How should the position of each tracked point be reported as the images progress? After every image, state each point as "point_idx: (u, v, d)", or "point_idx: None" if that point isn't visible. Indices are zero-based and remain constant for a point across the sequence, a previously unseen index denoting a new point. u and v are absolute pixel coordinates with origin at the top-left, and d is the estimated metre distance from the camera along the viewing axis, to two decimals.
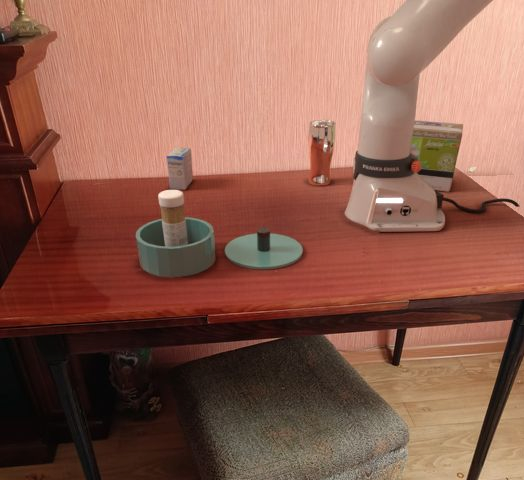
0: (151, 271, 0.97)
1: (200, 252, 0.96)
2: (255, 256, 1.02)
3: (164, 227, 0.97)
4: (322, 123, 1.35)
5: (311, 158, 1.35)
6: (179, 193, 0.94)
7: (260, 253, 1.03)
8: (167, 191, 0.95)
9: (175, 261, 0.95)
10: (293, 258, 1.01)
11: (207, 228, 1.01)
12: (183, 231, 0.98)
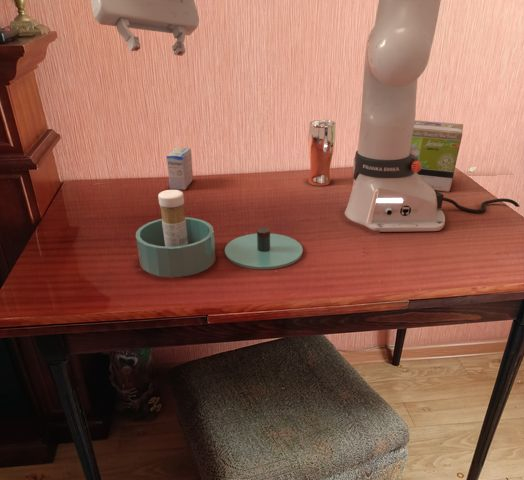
0: (151, 271, 0.97)
1: (200, 252, 0.96)
2: (255, 256, 1.02)
3: (164, 227, 0.97)
4: (322, 123, 1.35)
5: (311, 158, 1.35)
6: (179, 193, 0.94)
7: (260, 253, 1.03)
8: (167, 191, 0.95)
9: (175, 261, 0.95)
10: (293, 258, 1.01)
11: (207, 228, 1.01)
12: (183, 231, 0.98)
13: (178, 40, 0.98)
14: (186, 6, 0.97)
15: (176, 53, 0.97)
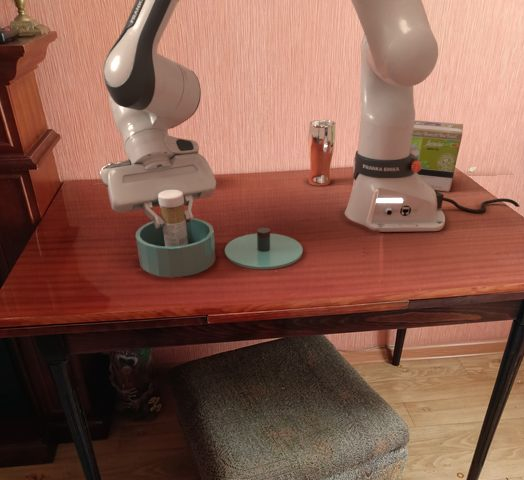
0: (151, 271, 0.97)
1: (200, 252, 0.96)
2: (255, 256, 1.02)
3: (164, 227, 0.97)
4: (322, 123, 1.35)
5: (311, 158, 1.35)
6: (179, 193, 0.94)
7: (260, 253, 1.03)
8: (167, 191, 0.95)
9: (175, 261, 0.95)
10: (293, 258, 1.01)
11: (207, 228, 1.01)
12: (183, 231, 0.98)
13: (187, 208, 0.99)
14: (201, 173, 0.99)
15: None
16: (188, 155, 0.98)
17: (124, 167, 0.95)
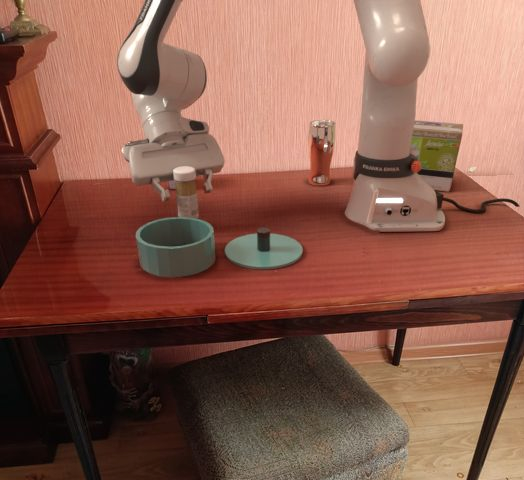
0: (151, 271, 0.97)
1: (200, 252, 0.96)
2: (255, 256, 1.02)
3: (178, 200, 1.09)
4: (322, 123, 1.35)
5: (311, 158, 1.35)
6: (192, 169, 1.07)
7: (260, 253, 1.03)
8: (181, 167, 1.08)
9: (175, 261, 0.95)
10: (293, 258, 1.01)
11: (207, 228, 1.01)
12: (194, 203, 1.10)
13: (207, 180, 1.12)
14: (211, 151, 1.12)
15: (205, 192, 1.11)
16: (200, 135, 1.11)
17: (143, 145, 1.07)
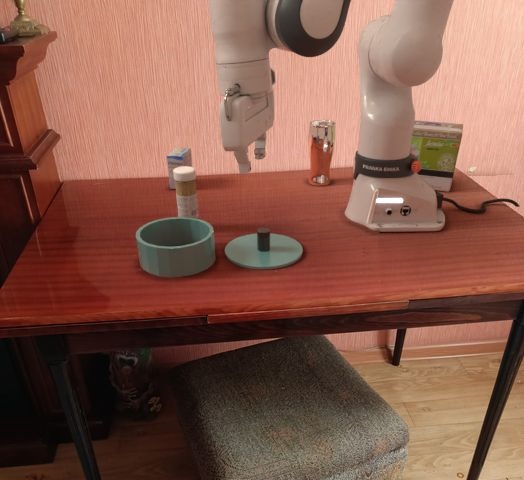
0: (151, 271, 0.97)
1: (200, 252, 0.96)
2: (255, 256, 1.02)
3: (178, 200, 1.09)
4: (322, 123, 1.35)
5: (311, 158, 1.35)
6: (192, 169, 1.07)
7: (260, 253, 1.03)
8: (181, 167, 1.08)
9: (175, 261, 0.95)
10: (293, 258, 1.01)
11: (207, 228, 1.01)
12: (194, 203, 1.10)
13: (259, 143, 0.97)
14: (269, 109, 0.96)
15: (258, 158, 0.98)
16: (270, 88, 0.92)
17: (245, 100, 0.83)
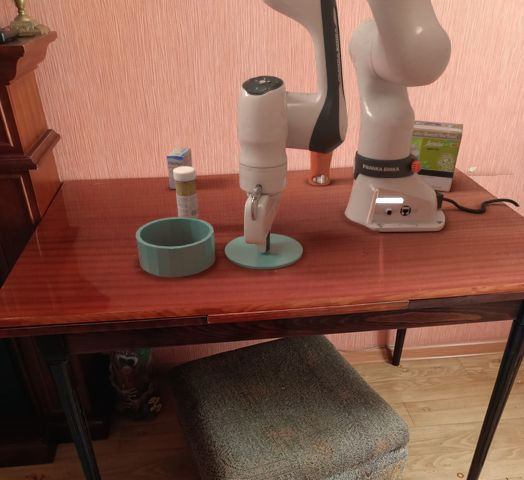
0: (151, 271, 0.97)
1: (200, 252, 0.96)
2: (255, 256, 1.02)
3: (178, 200, 1.09)
4: None
5: (311, 158, 1.35)
6: (192, 169, 1.07)
7: (260, 253, 1.03)
8: (181, 167, 1.08)
9: (175, 261, 0.95)
10: (293, 258, 1.01)
11: (207, 228, 1.01)
12: (194, 203, 1.10)
13: None
14: None
15: None
16: None
17: (266, 200, 0.92)
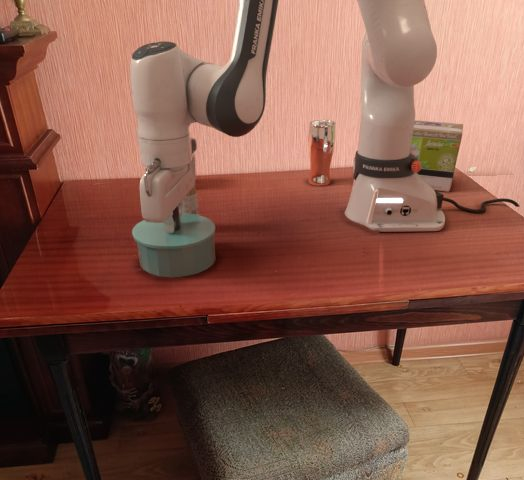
0: (151, 271, 0.97)
1: (200, 252, 0.96)
2: (162, 235, 0.96)
3: None
4: (322, 123, 1.35)
5: (311, 158, 1.35)
6: None
7: None
8: None
9: (175, 261, 0.95)
10: (202, 237, 0.95)
11: None
12: (194, 203, 1.10)
13: None
14: (191, 172, 1.00)
15: None
16: (191, 155, 0.96)
17: (165, 175, 0.87)
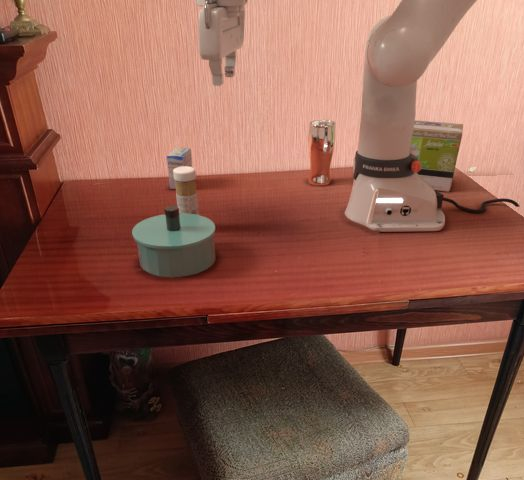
0: (151, 271, 0.97)
1: (200, 252, 0.96)
2: (162, 235, 0.96)
3: (178, 200, 1.09)
4: (322, 123, 1.35)
5: (311, 158, 1.35)
6: (192, 169, 1.07)
7: (168, 232, 0.97)
8: (181, 167, 1.08)
9: (175, 261, 0.95)
10: (202, 237, 0.95)
11: None
12: (194, 203, 1.10)
13: (229, 61, 1.03)
14: (240, 28, 1.02)
15: (228, 76, 1.04)
16: (243, 7, 0.98)
17: (222, 10, 0.89)
